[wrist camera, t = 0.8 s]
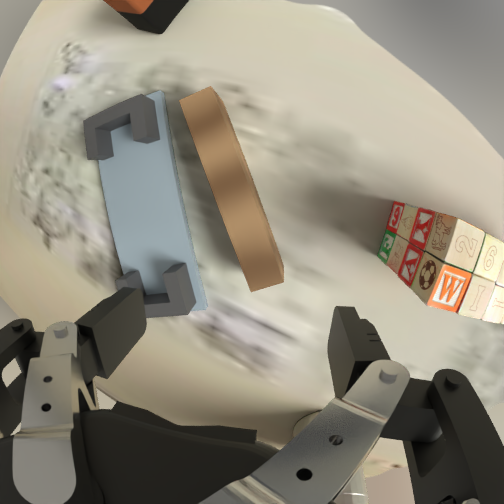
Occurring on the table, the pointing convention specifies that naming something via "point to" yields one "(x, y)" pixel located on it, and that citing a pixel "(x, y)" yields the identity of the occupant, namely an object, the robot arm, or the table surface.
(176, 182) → the cap board
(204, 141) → the slat
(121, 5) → the battery
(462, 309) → the stack of blocks
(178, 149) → the table surface
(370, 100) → the table surface
